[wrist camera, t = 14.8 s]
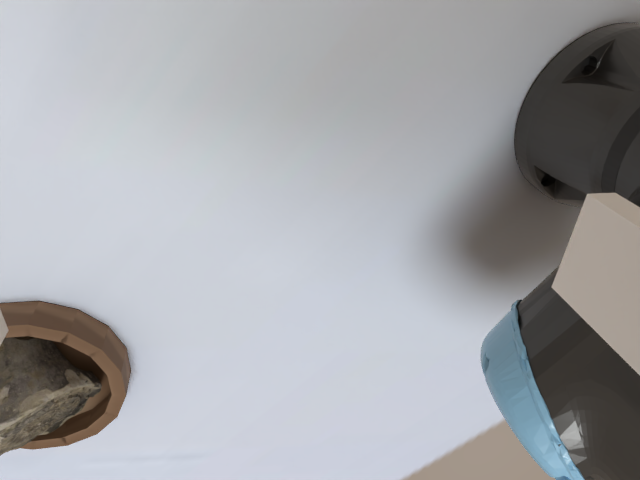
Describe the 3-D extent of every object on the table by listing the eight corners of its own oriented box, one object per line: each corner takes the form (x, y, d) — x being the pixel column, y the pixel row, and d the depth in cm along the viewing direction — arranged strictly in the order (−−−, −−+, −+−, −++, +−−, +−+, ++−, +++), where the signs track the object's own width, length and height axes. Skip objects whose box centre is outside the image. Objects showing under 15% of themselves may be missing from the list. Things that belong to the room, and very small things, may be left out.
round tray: (116, 296, 41) (110, 319, 38) (138, 412, 49) (134, 437, 46) (-86, 308, 38) (-107, 333, 35) (-27, 430, 46) (-41, 458, 43)
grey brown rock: (89, 427, 47) (2, 515, 38) (14, 378, 47) (-90, 453, 38) (120, 354, 42) (29, 432, 33) (36, 300, 42) (-77, 363, 33)
